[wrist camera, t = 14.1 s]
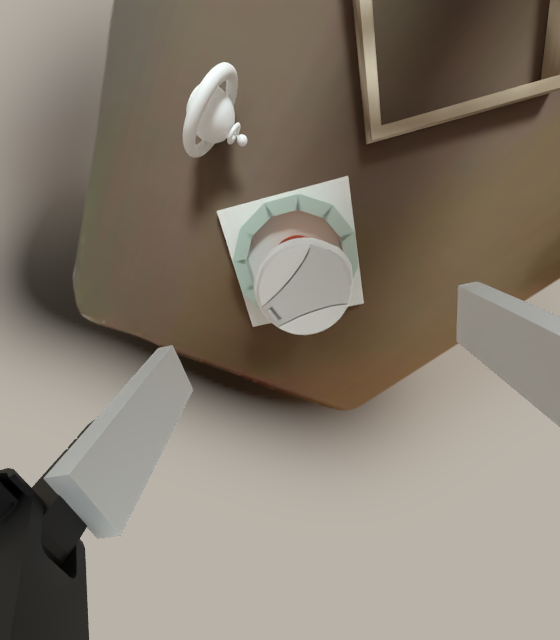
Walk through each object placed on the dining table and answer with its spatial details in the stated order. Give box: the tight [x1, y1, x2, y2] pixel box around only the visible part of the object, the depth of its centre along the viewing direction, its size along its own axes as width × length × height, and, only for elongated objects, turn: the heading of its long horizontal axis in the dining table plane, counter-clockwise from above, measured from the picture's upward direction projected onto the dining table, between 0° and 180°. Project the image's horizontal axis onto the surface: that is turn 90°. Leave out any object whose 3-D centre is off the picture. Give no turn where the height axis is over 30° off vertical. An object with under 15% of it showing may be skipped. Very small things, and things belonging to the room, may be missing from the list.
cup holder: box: [217, 176, 364, 327], centre depth 32 cm, size 15×15×3 cm
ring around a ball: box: [183, 62, 247, 158], centre depth 24 cm, size 8×6×8 cm
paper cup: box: [254, 235, 354, 335], centre depth 26 cm, size 8×8×14 cm
